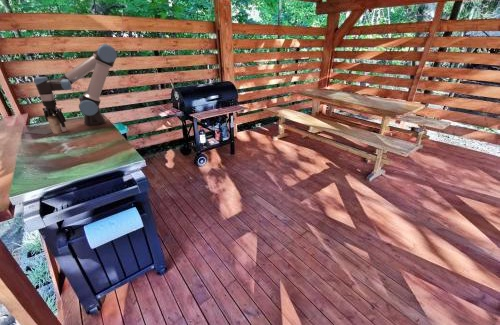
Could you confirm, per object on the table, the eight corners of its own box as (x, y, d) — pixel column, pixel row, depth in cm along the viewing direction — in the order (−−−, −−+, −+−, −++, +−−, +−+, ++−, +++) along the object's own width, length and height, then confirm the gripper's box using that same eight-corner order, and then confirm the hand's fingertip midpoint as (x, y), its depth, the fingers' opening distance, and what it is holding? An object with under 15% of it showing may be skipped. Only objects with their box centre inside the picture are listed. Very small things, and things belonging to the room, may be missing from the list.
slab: (62, 130, 182) (57, 114, 176) (67, 130, 181) (61, 114, 176) (52, 133, 174) (46, 117, 169) (57, 133, 174) (51, 117, 168)
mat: (38, 129, 184) (38, 128, 184) (59, 130, 180) (59, 130, 180) (24, 133, 175) (24, 132, 175) (46, 135, 171) (46, 134, 171)
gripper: (31, 100, 166) (43, 131, 176) (55, 101, 162) (66, 133, 172) (41, 98, 173) (53, 128, 183) (65, 99, 169) (75, 130, 179)
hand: (59, 130), depth 177 cm, fingers open, 8 cm apart
